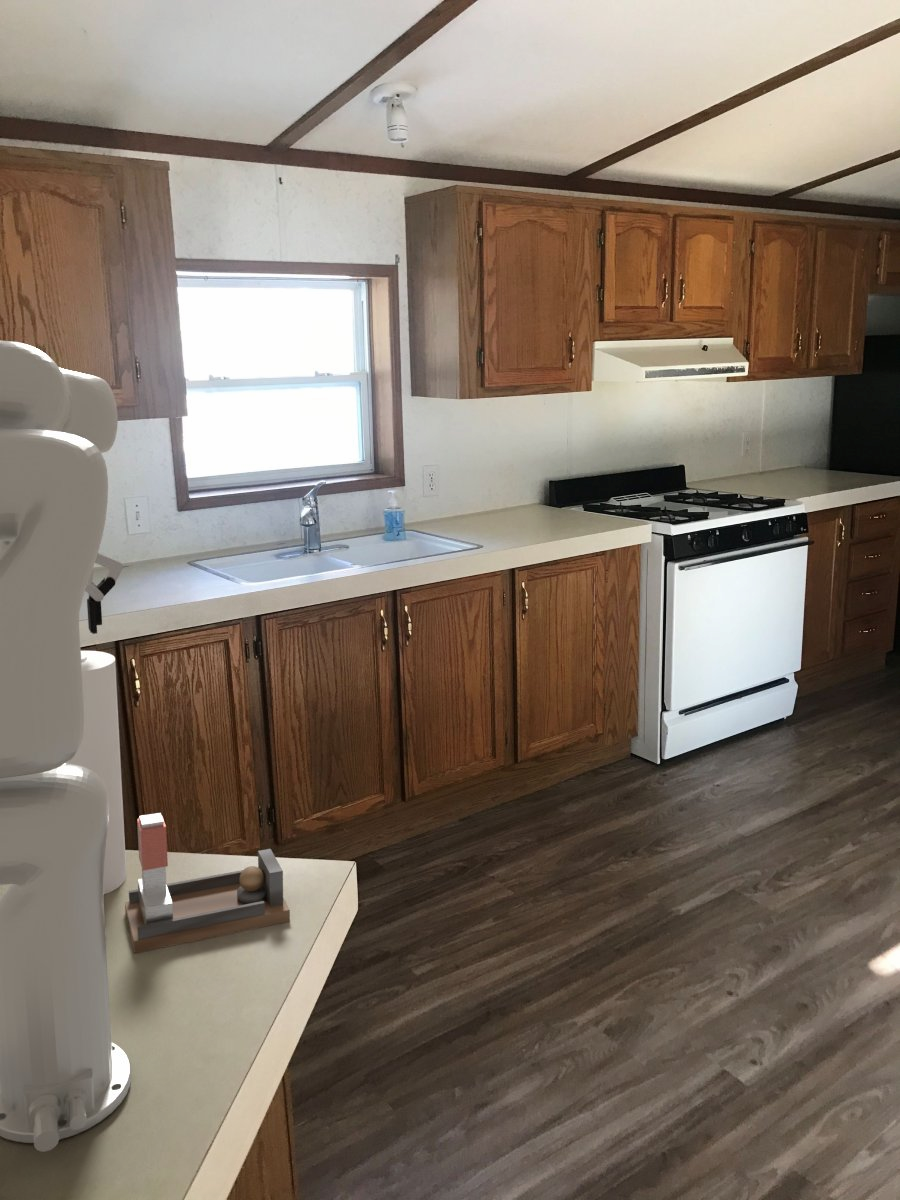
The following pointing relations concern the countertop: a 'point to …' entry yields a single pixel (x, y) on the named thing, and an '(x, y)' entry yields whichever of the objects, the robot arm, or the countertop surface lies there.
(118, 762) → the cylinder container
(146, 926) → the nutcracker board
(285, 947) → the countertop surface
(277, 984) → the countertop surface
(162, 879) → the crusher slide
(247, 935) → the countertop surface
